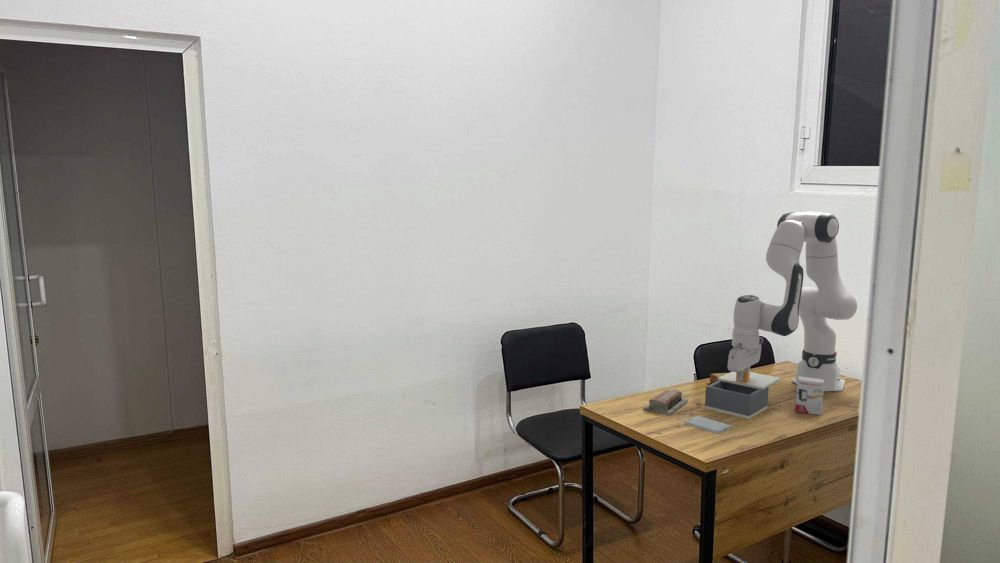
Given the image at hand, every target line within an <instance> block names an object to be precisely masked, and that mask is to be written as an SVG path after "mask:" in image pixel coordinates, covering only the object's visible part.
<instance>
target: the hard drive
mask: <svg viewBox="0 0 1000 563" xmlns="http://www.w3.org/2000/svg"><path fill="white" fill-rule="evenodd" d="M684 425H687V426H689V427H693V428H696V429H701V430H704V431H707V432H710V433H715V434H717V435H720V434H723V433H725V432H726V431H728V430H730V429H732V428H733V426H732V424H727V423H724V422H720V421H718V420H717V421H716V420H713V419H710V418H705V417H704V416H699V415H695V416H693V417H690V418H689V419H686V420H685V421H684Z"/></svg>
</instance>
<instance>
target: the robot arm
mask: <svg viewBox="0 0 1000 563" xmlns="http://www.w3.org/2000/svg"><path fill="white" fill-rule="evenodd" d="M839 229H840V224H839V220H838V219H837V217H836V216H835V215H834V214H832V213H829V212H817V211H800V212H794V211H789V212H786V213H784V214H782V215H781V216H780V217H779V219H778V220H777V225H776V229H775V231H774V233H773V235H772V237H771V239H770V242H769V245H768V248H767V251H766V255H765V261H766V264H767V265H768V267H769V268H770V269H771V270H772V271H773V272H775V273H776V274H778V275H779V276H780V277H782V278H784V280H785V283H786V284H785V291H784V297H783V303H782V304H781V305H774V304H769V303H765V302H763V301H762V300H760V297H759V296H758V295H757V296H756V295H752V294H748V295H741V296H739V297H737V299H736V301H735V304H734V309H733V318H732V320H733V328H732V329H733V330H732V338H731V345H732V346H733V348H732V349H730V350H729V353H728V358H727V359H728V360H727V371H729V372H737V374H738V380H740V381H742V380H744V375H743V371H745V372H750V370H751V366H753V365H755V364H757V363H759V361H760V359H761V353H762V344H763V342H764V338H763V337H760V331H764V332H769V333H773V334H775V335H779V336H782V337H787V336H789V335H791V334H793V333H794V332H795V331H796V330H797V329H798V326H799V321H800V320H801V323H802V325H803V330H804V331H803V332H804V342H803V349H802V352H801V360H800V361H798V362H797V366H796V373H795V378H792V379H791V382H792V383H794V384H796V385H797V380H798V377H799V376H802V377H809V378H817V379H823V380H824V392H843V390H844V387H845V384H846V380H845V379H842V378H840V373H841V372H840V367H839V366H838V365H837V363H836V362H837V355H838V354H837V353H838V352H837V351H835V350H836V340H837V334H836V332H835V330H834V329H833V328H832V327H831V326H830V325H829V324H828V322H827V320H826V319H831V320H836V321H842V320H843V321H844V320H849V319H852V318H853V317H854V316H855V314H856V313H857V309H858V302H857V299H856V298H855V297H854V295H853V294H851V293H850V292H849V291H848V290H847V287H845V285H844V284H843V281H842V278H841V275H840V273H839V272H840V271H839V261H838V260H839V259H838V244H837V235H838V233H839ZM804 242H805V272H806V273H805V272H804V268H803V266H801V265H800V257H801V253H802V250H803V247H804ZM804 273H805V274H806V275H807V277H808V279H810V280H811V281H812V282H814V283H815V285H816V287H814V286H813V287H812V286H803V285H804V276H805V275H804ZM759 330H760V331H759Z"/></svg>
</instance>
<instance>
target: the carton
mask: <svg viewBox="0 0 1000 563" xmlns="http://www.w3.org/2000/svg"><path fill="white" fill-rule="evenodd" d="M728 373H729V372H721V373H720V372H718V373H710V374H709V383H710V384H711V383H714V382H717V381H718V378H719V377H721V376H723V375H726V374H728Z"/></svg>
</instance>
